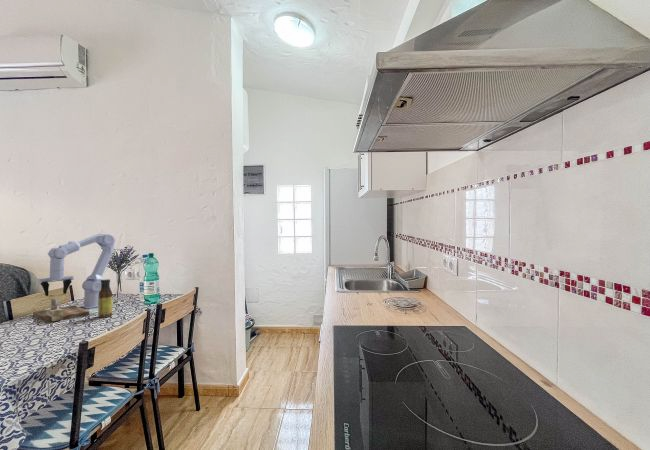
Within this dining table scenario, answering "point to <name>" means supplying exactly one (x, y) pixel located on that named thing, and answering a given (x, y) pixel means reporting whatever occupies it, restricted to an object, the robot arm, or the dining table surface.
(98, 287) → the robot arm
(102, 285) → the yellow labelled brown bottle
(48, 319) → the board
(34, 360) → the dining table surface
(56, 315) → the cream block
